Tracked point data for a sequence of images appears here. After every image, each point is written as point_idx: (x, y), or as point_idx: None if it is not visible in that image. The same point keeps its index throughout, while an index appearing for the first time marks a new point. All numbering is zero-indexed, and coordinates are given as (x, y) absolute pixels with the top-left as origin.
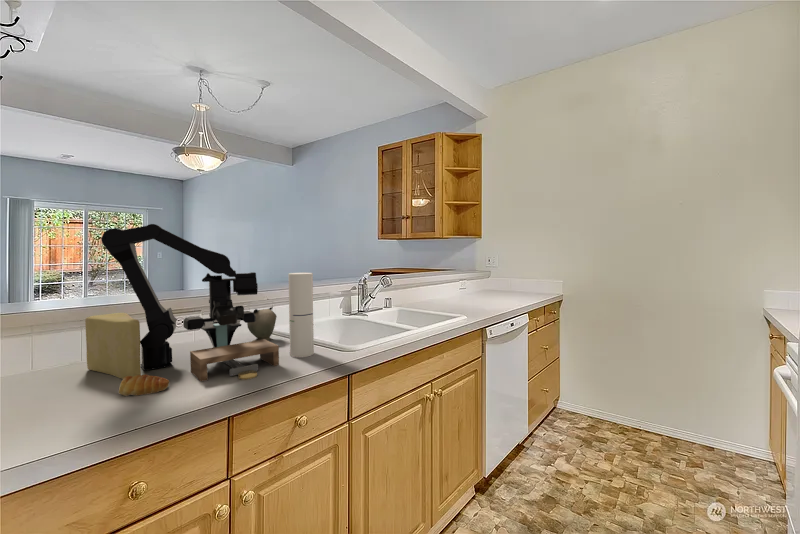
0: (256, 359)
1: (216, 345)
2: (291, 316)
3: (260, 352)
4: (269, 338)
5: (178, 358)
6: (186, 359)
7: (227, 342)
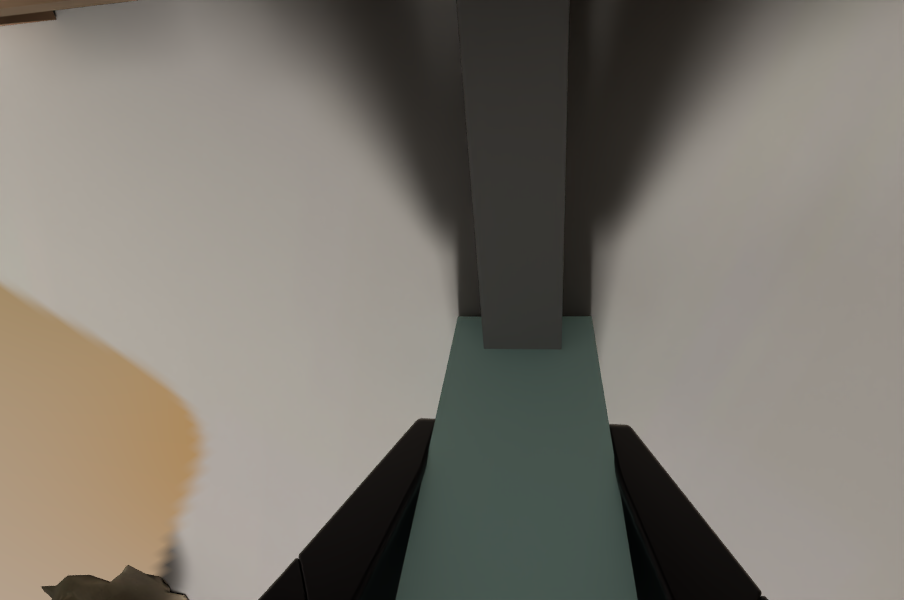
0: None
1: (625, 474)
2: None
3: None
4: (53, 597)
5: (854, 590)
6: (823, 529)
7: (421, 487)
